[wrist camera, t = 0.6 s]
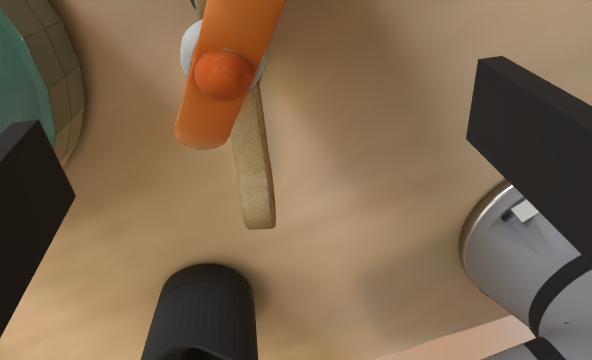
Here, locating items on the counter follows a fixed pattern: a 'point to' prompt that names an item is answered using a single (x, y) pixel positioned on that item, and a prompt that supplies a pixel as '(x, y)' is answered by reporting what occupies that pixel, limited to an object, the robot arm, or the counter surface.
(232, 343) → the pen holder
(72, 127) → the bowl
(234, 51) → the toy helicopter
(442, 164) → the counter surface
